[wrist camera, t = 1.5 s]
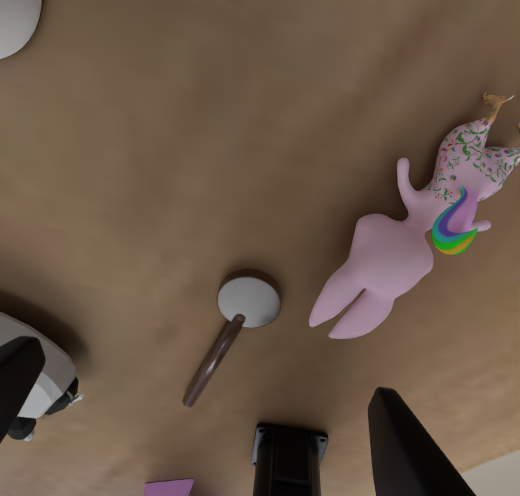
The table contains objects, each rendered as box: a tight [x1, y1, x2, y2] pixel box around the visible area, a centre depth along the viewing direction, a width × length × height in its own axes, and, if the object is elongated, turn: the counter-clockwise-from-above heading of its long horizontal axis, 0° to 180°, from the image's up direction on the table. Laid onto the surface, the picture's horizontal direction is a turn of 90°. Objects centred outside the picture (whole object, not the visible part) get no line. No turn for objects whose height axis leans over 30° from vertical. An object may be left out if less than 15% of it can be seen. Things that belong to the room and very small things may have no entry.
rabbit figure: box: [309, 92, 520, 339], centre depth 17 cm, size 6×6×15 cm
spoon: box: [183, 270, 282, 407], centre depth 25 cm, size 15×4×1 cm, turn 154°
